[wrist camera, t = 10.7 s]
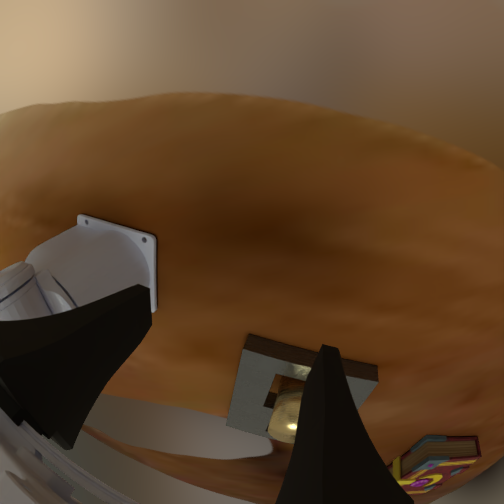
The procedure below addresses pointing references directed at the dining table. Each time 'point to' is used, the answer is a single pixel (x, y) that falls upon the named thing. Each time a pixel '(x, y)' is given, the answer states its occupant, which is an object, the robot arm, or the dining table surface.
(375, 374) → the grey plate with cutouts
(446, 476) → the decorative book
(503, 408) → the dining table surface
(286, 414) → the brass fitting
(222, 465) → the dining table surface
